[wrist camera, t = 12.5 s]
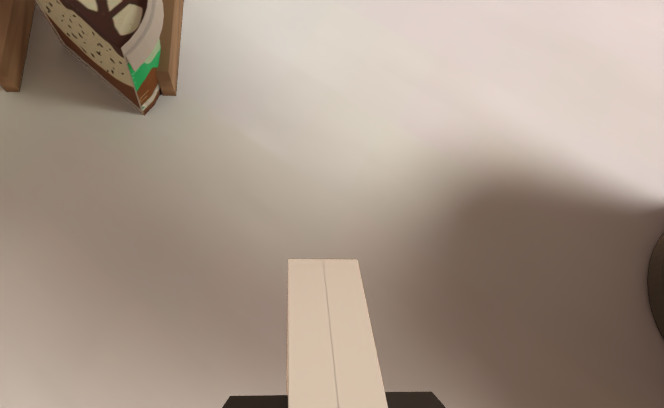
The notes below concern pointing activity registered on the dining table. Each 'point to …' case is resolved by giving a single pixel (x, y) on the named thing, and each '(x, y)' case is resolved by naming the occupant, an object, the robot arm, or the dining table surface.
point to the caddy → (14, 30)
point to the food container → (113, 42)
